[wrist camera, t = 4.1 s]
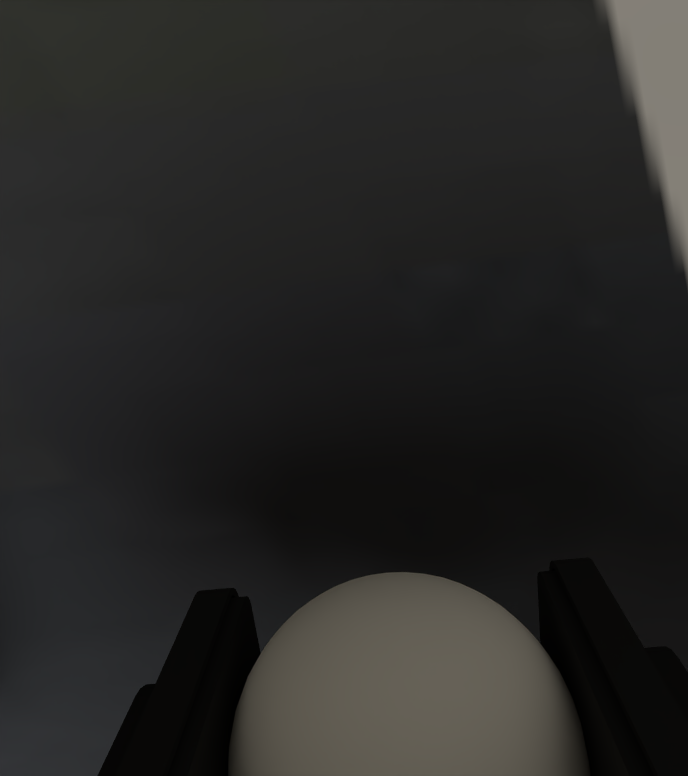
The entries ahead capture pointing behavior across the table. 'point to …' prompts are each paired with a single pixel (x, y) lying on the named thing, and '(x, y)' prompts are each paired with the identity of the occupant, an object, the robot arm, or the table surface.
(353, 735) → the light grey ball
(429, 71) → the table surface
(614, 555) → the table surface
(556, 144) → the table surface
